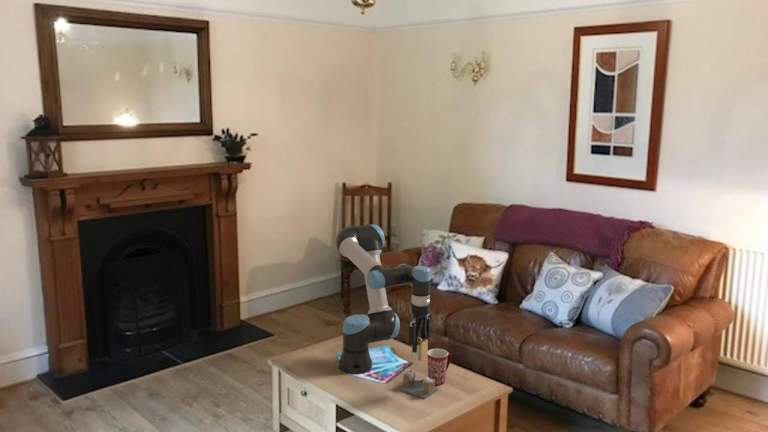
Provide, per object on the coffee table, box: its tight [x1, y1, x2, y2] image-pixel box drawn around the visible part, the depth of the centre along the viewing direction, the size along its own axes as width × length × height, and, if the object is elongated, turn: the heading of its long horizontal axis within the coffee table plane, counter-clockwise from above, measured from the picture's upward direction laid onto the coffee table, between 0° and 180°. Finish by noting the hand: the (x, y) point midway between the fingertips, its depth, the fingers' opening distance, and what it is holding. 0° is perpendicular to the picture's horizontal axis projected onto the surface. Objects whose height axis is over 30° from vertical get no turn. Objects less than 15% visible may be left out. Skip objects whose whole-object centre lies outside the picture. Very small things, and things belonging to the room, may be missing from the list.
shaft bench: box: [398, 370, 439, 400], centre depth 269 cm, size 13×10×7 cm
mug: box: [427, 348, 452, 386], centre depth 277 cm, size 13×9×14 cm
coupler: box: [411, 336, 429, 362], centre depth 265 cm, size 5×4×8 cm
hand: (419, 356), depth 266 cm, fingers closed on coupler, 4 cm apart
